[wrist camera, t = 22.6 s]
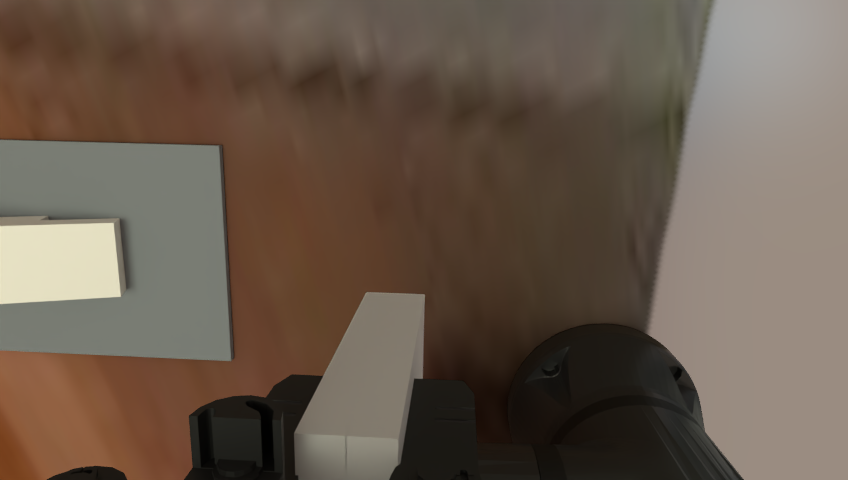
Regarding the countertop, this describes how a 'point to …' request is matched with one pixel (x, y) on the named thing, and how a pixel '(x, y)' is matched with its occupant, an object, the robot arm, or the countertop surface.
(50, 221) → the ivory domino
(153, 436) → the countertop surface
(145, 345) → the domino mat
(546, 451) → the robot arm
